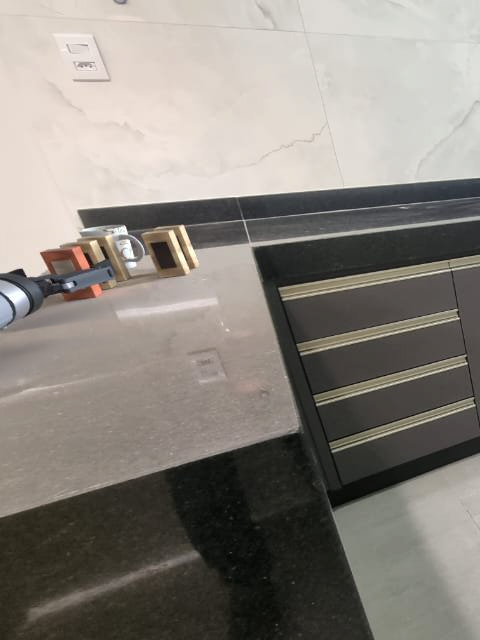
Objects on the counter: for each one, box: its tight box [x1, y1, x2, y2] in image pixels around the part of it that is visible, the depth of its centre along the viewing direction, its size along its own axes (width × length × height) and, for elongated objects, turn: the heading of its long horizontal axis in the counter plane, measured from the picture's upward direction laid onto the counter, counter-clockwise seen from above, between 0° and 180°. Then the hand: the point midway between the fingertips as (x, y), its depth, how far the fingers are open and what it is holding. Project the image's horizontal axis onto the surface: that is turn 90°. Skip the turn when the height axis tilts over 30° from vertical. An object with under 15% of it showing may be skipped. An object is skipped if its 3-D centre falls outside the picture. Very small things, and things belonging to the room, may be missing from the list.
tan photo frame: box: [59, 234, 132, 291], centre depth 116 cm, size 5×10×10 cm, turn 23°
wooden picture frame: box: [140, 224, 200, 279], centre depth 124 cm, size 5×10×10 cm, turn 23°
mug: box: [78, 224, 145, 270], centre depth 130 cm, size 8×13×10 cm, turn 88°
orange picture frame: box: [39, 246, 104, 302], centre depth 107 cm, size 5×3×10 cm, turn 113°
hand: (68, 270), depth 106 cm, fingers open, 13 cm apart
